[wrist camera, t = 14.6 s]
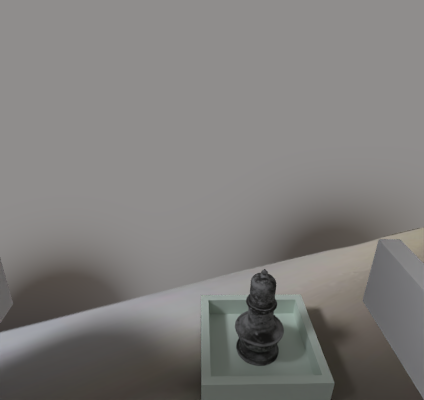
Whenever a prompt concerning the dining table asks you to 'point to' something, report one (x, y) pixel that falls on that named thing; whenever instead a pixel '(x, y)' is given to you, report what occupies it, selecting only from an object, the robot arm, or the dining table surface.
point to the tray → (269, 374)
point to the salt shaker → (259, 323)
